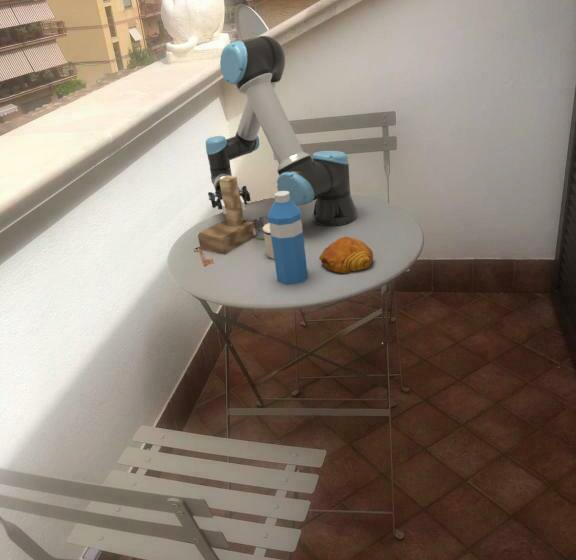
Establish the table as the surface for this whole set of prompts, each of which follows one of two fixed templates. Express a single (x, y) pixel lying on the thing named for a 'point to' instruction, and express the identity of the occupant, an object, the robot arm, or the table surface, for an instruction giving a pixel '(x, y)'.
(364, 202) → the table surface
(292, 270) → the water bottle
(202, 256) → the key
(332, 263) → the croissant
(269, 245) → the teacup with lid
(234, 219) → the wooden key peg
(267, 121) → the robot arm
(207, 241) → the wooden sliding lid box
